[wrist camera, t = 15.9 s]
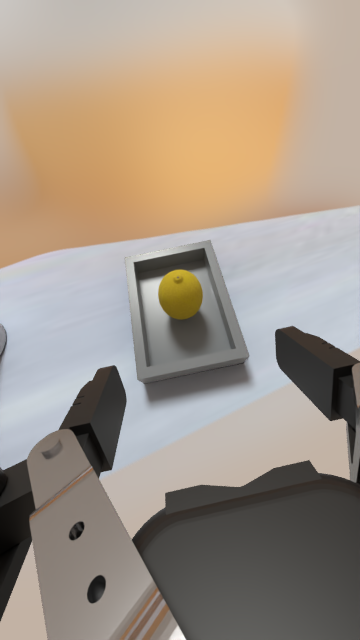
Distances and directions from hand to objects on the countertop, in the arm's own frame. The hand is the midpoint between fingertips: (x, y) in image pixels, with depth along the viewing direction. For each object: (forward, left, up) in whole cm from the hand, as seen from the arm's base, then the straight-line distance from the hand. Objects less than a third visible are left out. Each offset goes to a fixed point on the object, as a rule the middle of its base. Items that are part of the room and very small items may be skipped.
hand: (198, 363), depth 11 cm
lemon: (0, +11, -17) cm, 20 cm away
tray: (0, +12, -17) cm, 21 cm away
